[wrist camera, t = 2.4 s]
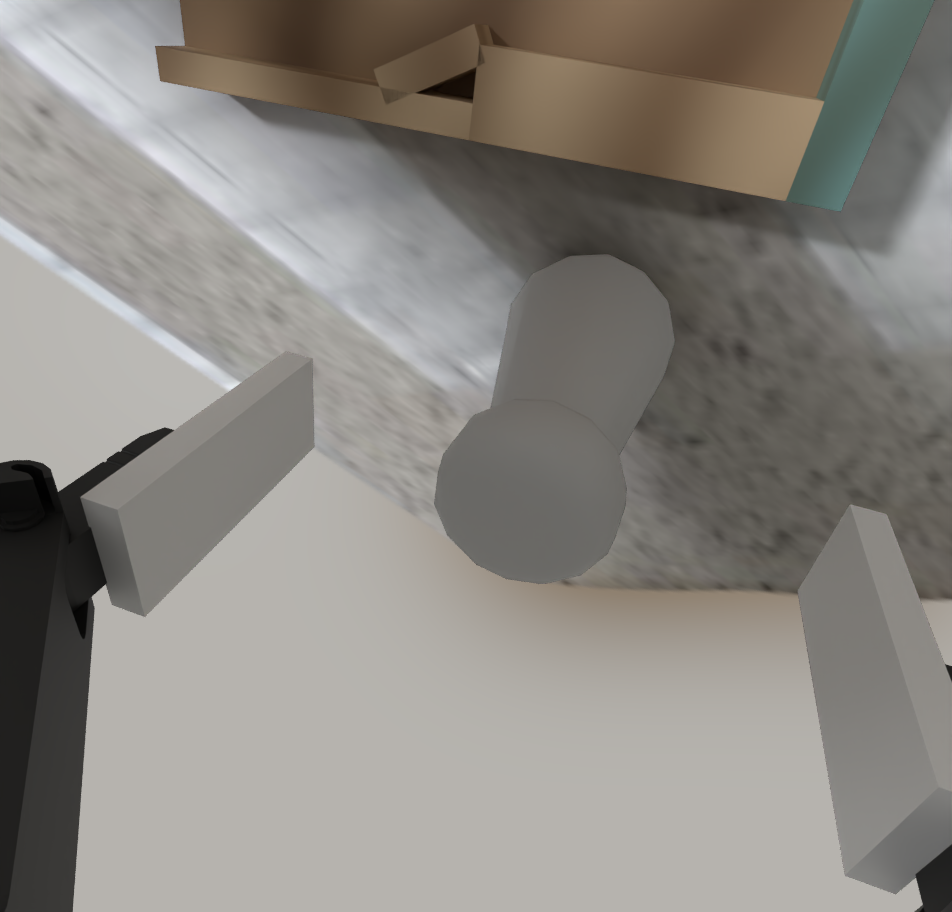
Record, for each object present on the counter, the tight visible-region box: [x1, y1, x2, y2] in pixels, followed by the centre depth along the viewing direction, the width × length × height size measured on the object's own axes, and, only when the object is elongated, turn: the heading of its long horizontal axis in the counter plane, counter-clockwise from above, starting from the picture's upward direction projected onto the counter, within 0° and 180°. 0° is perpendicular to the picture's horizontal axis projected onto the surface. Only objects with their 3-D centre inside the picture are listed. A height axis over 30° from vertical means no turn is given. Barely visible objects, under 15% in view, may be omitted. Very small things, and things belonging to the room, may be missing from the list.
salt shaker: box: [434, 254, 675, 584], centre depth 19 cm, size 6×6×13 cm
